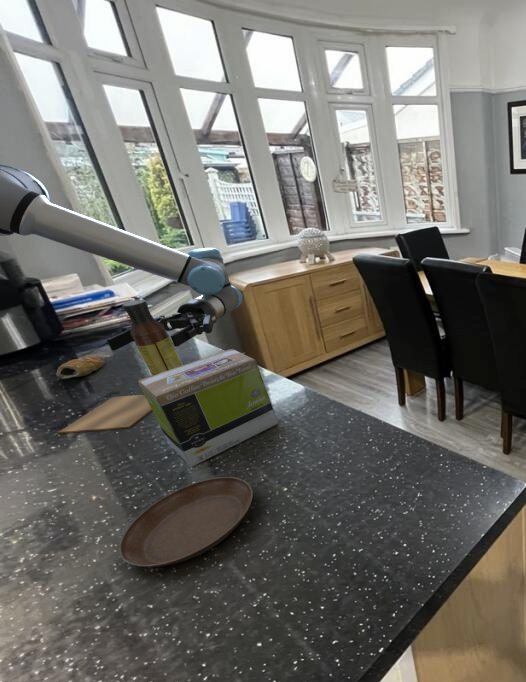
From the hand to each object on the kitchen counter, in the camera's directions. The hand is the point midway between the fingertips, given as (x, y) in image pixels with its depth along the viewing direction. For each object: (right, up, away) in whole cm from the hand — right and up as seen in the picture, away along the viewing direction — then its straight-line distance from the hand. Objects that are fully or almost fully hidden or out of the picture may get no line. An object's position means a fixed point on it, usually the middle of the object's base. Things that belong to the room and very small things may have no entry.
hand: (142, 343), depth 90 cm
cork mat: (+1, -15, -6) cm, 16 cm away
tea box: (+30, -18, -15) cm, 38 cm away
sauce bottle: (0, -9, +7) cm, 12 cm away
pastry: (-27, -8, +12) cm, 30 cm away
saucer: (+40, -26, -35) cm, 59 cm away
